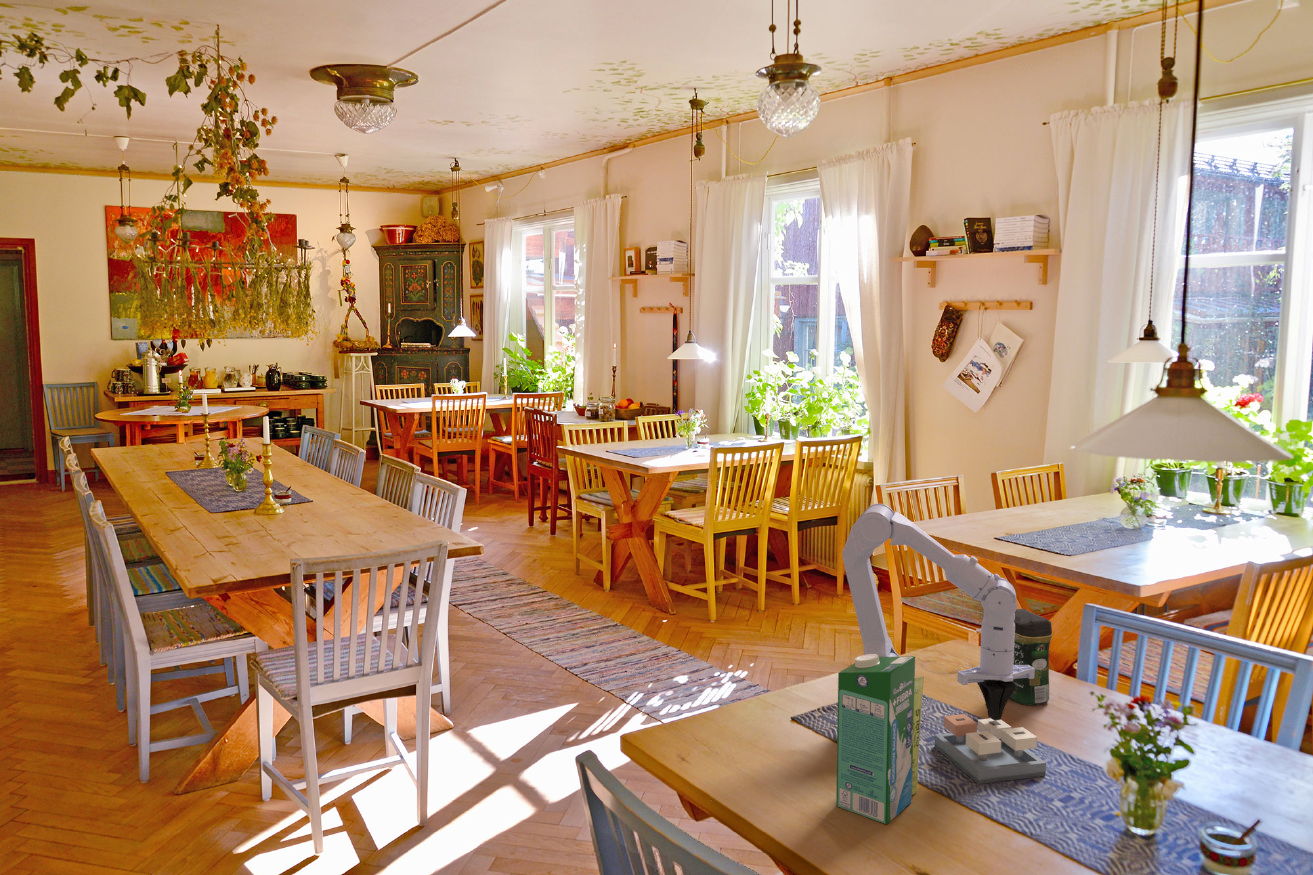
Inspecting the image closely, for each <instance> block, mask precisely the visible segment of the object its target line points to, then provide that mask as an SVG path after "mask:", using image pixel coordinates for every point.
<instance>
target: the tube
mask: <svg viewBox="0 0 1313 875" xmlns="http://www.w3.org/2000/svg"><path fill="white" fill-rule="evenodd" d="M924 681H925V677H924V676H917V677H915V684H914V723H913V762H912V796H913V795H915V794H916V793H917V791H918V781H919V780H918V778H919V777H918V776H919V753H920V752H919V751H920V738H921V735H920V734H921V733H920V732H921V719H922V707H923V706H922V704H923V692H924V683H925V682H924Z"/></svg>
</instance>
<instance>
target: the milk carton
mask: <svg viewBox="0 0 1313 875" xmlns="http://www.w3.org/2000/svg"><path fill="white" fill-rule="evenodd" d="M853 660H854V663H853V664H851V665H849V666H848V667H846V668H844V669H842V670H841V671H839V672H838V674H837V676H838V677H837V683H838V684H837V730H836V731H837V732H836V733H837V735H836V736H837V742H836V745H837V746H836V793H835V794H836V802H835V805H836V807H838V808H841V809H843V810H846V811H849V812H851V813H854V814H857V815H860V816H862V817H865V818H867V819H871V820H873V821H877V822H879V823H882V824H884V825H888V824H889V823H890V822H892V820H894V818H896V817H897V816H898V815H899V814H900V813H902V811H904V809H905V808H907V807H908V806H909V805H910V804H911V803H912V800H913V795H912V762H913V723H914V684H915V678H916V674H915V673H916V656H911V655H910V656H909V655H907V656H900V657H878V655H877V654H868V655H867V654H866V655H863V654H862V655H858V656H856V657H854V658H853Z"/></svg>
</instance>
